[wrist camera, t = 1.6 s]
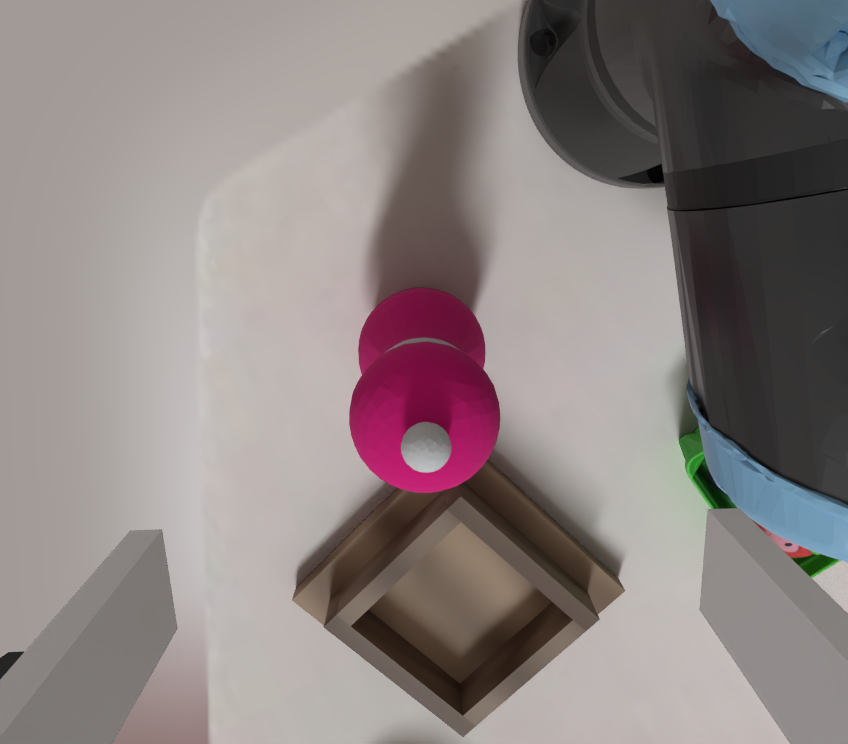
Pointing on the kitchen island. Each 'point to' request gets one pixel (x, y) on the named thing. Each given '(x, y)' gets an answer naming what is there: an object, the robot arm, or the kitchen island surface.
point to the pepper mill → (423, 393)
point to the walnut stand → (459, 593)
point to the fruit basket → (720, 500)
